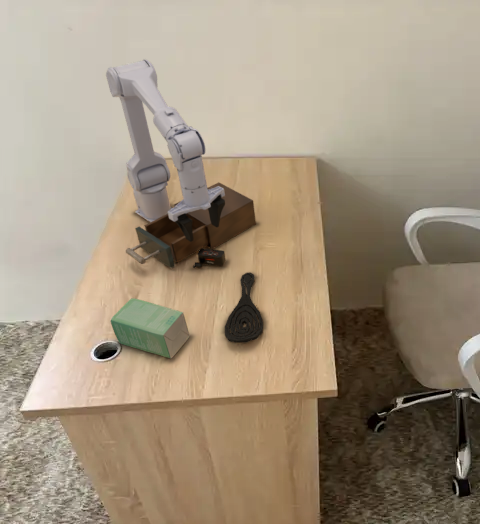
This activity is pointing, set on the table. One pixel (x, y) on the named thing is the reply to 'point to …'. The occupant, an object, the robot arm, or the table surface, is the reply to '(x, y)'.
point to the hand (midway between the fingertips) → (202, 232)
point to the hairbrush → (244, 316)
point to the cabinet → (227, 217)
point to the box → (150, 327)
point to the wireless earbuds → (210, 258)
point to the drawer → (168, 241)
